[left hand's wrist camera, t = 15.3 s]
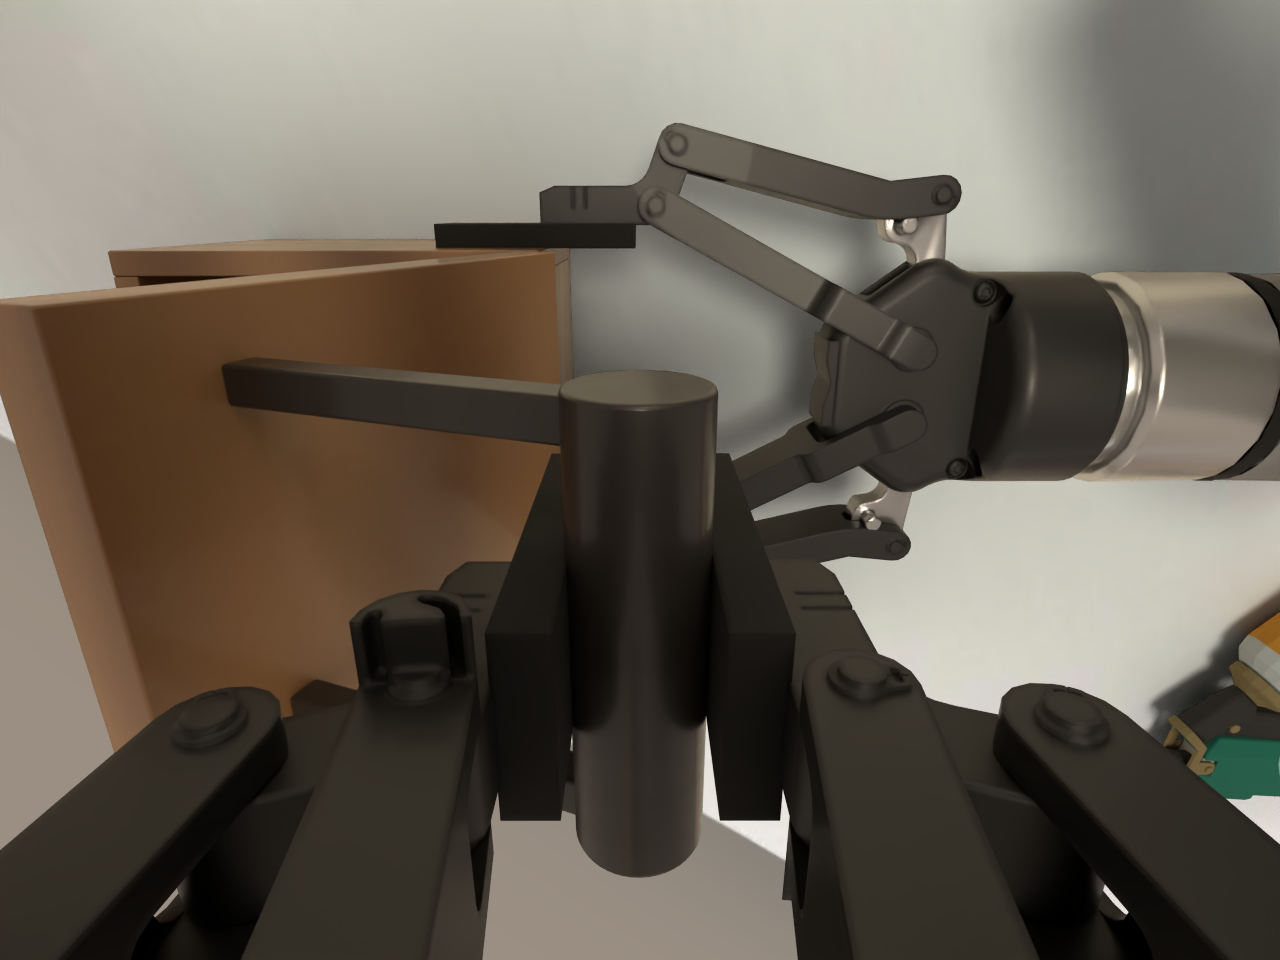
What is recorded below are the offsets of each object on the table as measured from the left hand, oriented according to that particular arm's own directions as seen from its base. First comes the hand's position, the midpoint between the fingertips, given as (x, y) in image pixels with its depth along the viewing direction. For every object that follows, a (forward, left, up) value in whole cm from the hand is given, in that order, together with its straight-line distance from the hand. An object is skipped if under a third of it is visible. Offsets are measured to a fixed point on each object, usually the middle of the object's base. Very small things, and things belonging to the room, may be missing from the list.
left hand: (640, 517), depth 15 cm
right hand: (-6, -4, -13) cm, 14 cm away
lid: (-5, -3, -3) cm, 7 cm away
